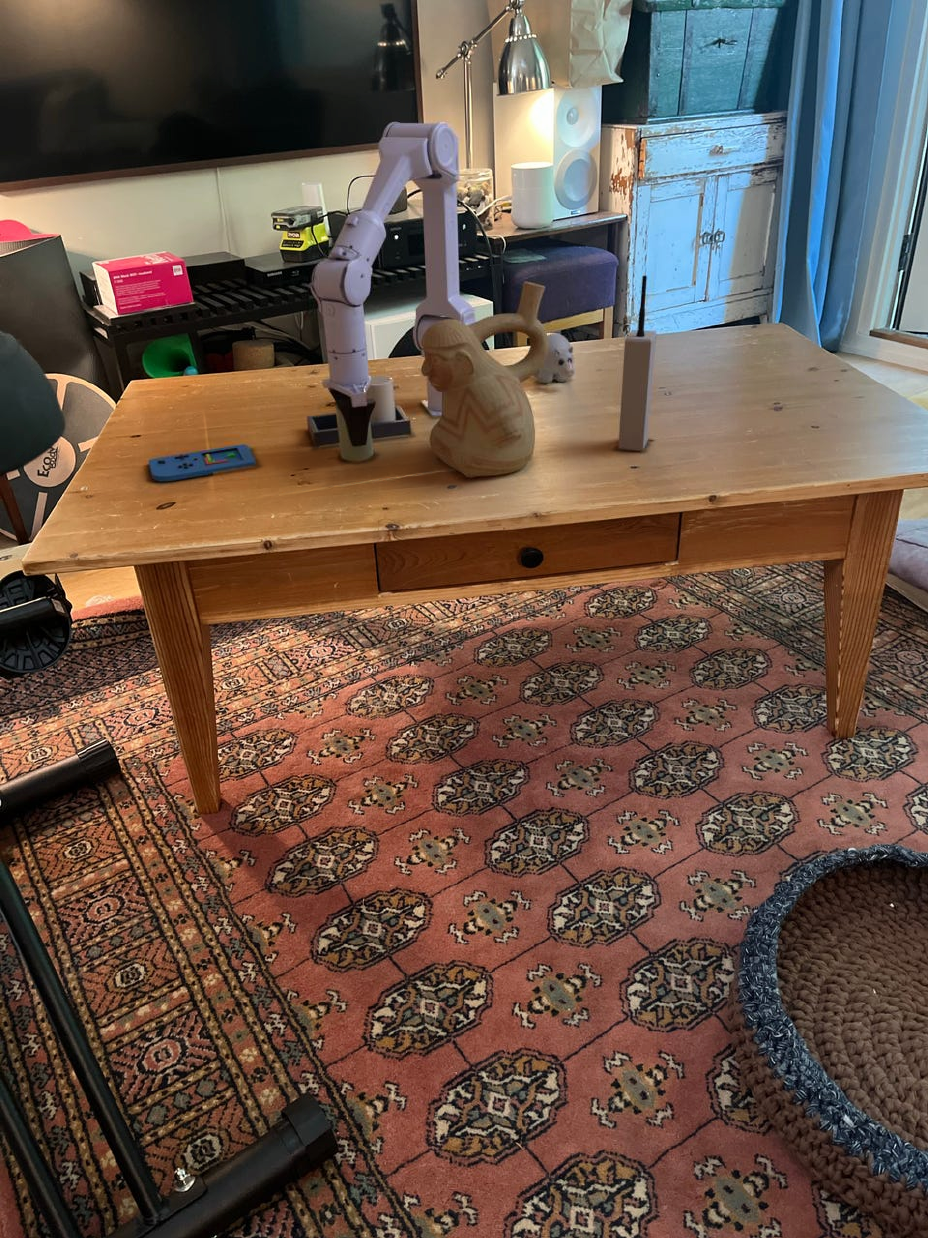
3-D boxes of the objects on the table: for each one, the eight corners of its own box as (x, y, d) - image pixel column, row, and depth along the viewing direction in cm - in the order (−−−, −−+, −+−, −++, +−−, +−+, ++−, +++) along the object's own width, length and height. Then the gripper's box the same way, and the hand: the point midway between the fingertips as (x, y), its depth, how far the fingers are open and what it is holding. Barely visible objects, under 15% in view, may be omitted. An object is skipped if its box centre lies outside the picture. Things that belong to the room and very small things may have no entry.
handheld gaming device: (147, 457, 137) (246, 441, 142) (149, 464, 138) (247, 448, 142) (152, 476, 131) (255, 459, 135) (154, 483, 131) (256, 466, 136)
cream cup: (392, 421, 150) (389, 373, 145) (399, 431, 146) (395, 382, 141) (363, 425, 149) (358, 377, 144) (369, 435, 144) (364, 386, 140)
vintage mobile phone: (648, 440, 140) (661, 270, 127) (642, 452, 136) (656, 278, 123) (624, 438, 141) (635, 270, 128) (618, 449, 137) (628, 277, 124)
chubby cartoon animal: (548, 395, 160) (549, 347, 156) (526, 376, 170) (526, 330, 165) (586, 391, 162) (588, 342, 157) (562, 372, 171) (563, 326, 167)
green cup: (370, 449, 141) (365, 398, 137) (376, 460, 137) (372, 408, 132) (338, 453, 140) (332, 402, 135) (343, 464, 136) (338, 413, 131)
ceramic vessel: (406, 456, 138) (394, 285, 125) (520, 433, 144) (521, 269, 131) (450, 496, 125) (442, 310, 111) (574, 470, 131) (581, 291, 118)
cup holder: (400, 420, 152) (399, 404, 150) (411, 436, 145) (410, 420, 143) (308, 432, 148) (306, 416, 147) (315, 449, 142) (313, 432, 140)
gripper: (312, 338, 135) (322, 426, 142) (326, 364, 123) (337, 459, 130) (358, 333, 136) (366, 420, 143) (377, 359, 124) (385, 452, 131)
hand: (355, 438), depth 137 cm, fingers closed on green cup, 5 cm apart
